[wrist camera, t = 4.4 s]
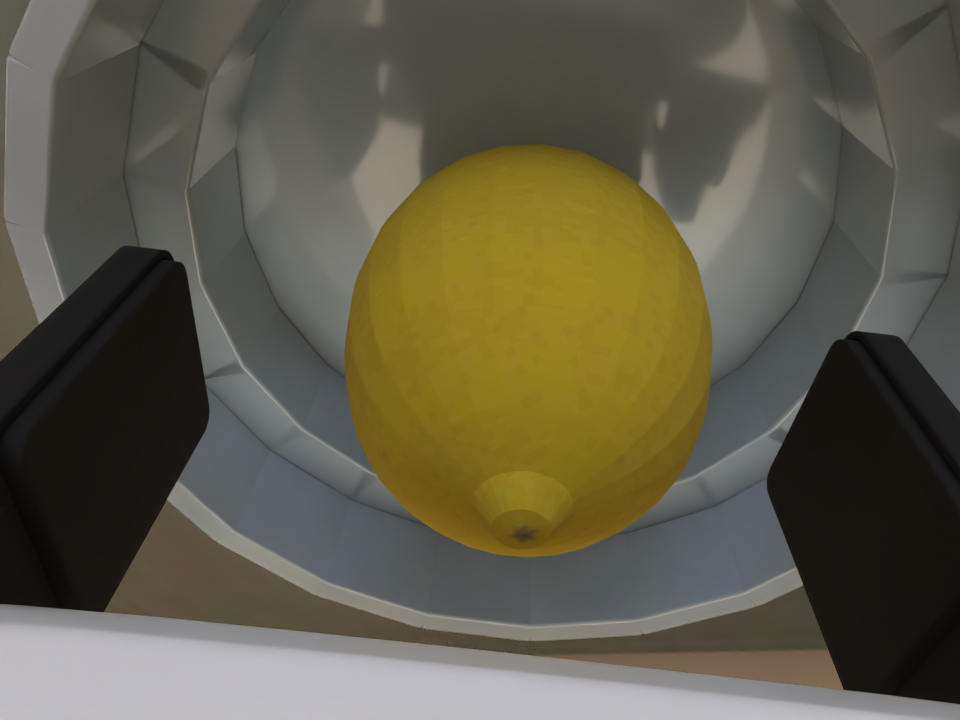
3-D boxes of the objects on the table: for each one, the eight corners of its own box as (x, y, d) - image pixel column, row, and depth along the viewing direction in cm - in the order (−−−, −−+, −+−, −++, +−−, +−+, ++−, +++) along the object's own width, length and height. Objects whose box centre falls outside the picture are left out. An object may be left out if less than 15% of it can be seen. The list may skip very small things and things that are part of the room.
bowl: (1122, -200, 10) (1519, -239, 6) (760, 504, 19) (821, 677, 15) (82, -336, 10) (-232, -471, 6) (215, 437, 19) (127, 594, 15)
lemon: (477, 369, 16) (439, 701, 10) (342, 170, 14) (168, 449, 7) (704, 277, 15) (839, 612, 8) (600, 26, 12) (675, 225, 5)
